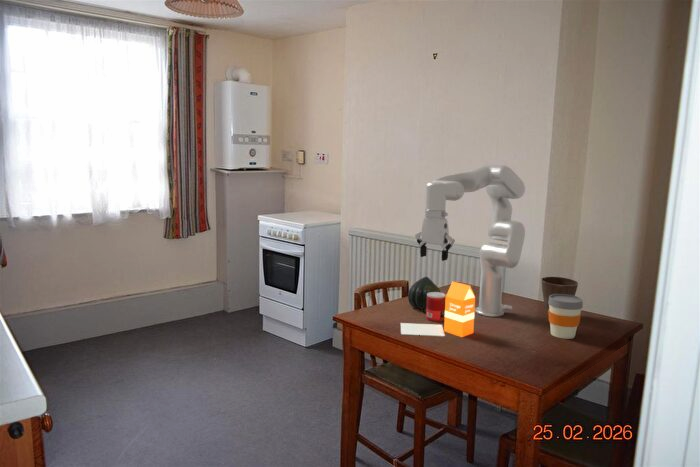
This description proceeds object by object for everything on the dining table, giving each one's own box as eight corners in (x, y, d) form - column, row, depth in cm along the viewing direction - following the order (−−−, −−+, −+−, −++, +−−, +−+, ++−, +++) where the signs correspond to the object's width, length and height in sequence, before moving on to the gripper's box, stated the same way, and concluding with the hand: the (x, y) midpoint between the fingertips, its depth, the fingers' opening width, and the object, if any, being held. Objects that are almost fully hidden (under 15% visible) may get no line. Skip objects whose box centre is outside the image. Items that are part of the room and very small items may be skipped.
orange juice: (461, 337, 199) (464, 287, 196) (443, 331, 206) (445, 282, 203) (473, 332, 205) (476, 284, 201) (455, 327, 211) (458, 279, 208)
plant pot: (579, 315, 228) (582, 280, 226) (568, 323, 217) (572, 287, 214) (545, 308, 238) (548, 275, 235) (533, 316, 226) (536, 281, 224)
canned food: (444, 322, 216) (445, 297, 214) (425, 321, 218) (426, 296, 216) (445, 317, 224) (446, 292, 222) (426, 315, 225) (427, 291, 223)
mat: (441, 325, 213) (441, 324, 213) (444, 336, 200) (445, 335, 200) (400, 323, 214) (400, 323, 214) (401, 334, 201) (401, 333, 201)
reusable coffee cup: (538, 331, 207) (541, 295, 205) (562, 327, 212) (565, 292, 210) (562, 342, 196) (566, 304, 193) (587, 337, 201) (590, 300, 198)
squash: (417, 303, 224) (435, 276, 227) (397, 296, 236) (414, 270, 240) (435, 321, 230) (453, 293, 234) (415, 313, 243) (432, 287, 246)
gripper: (460, 215, 194) (458, 260, 197) (422, 211, 205) (420, 253, 208) (449, 217, 188) (447, 263, 191) (411, 213, 200) (409, 256, 203)
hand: (433, 258), depth 200 cm, fingers open, 9 cm apart
